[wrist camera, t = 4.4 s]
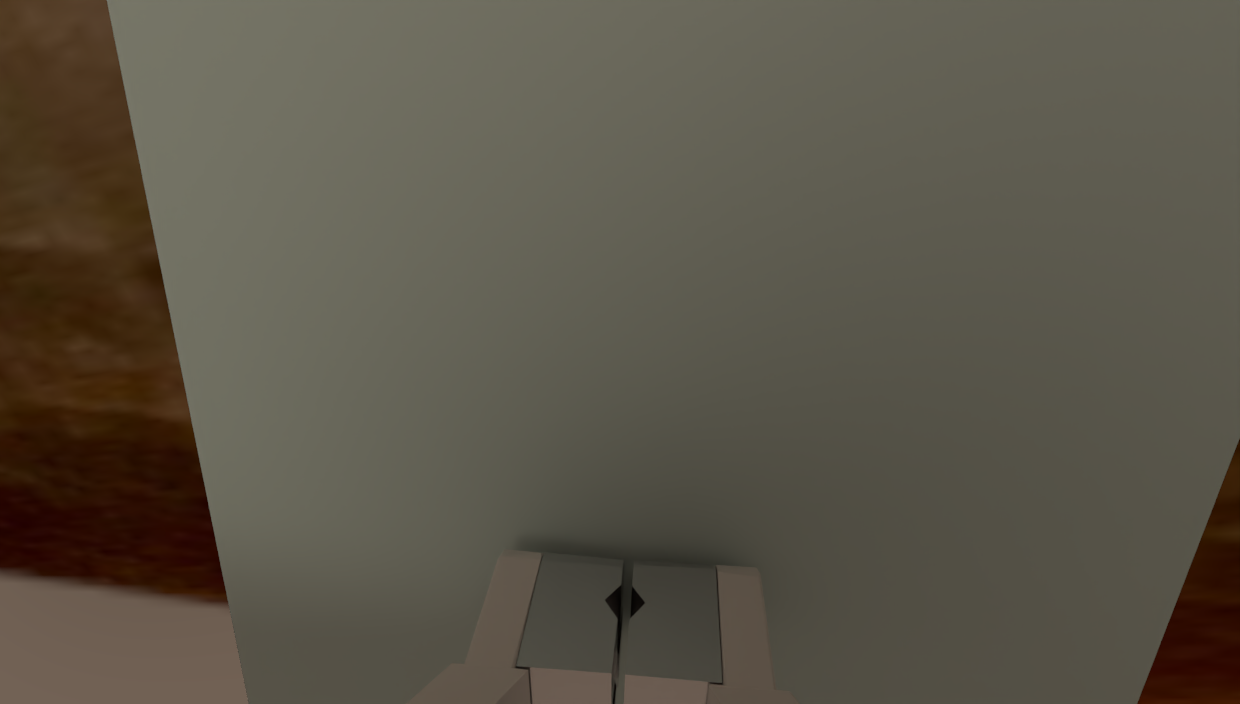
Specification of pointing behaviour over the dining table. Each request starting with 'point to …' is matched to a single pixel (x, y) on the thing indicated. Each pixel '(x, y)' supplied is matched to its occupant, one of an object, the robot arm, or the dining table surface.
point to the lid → (703, 320)
